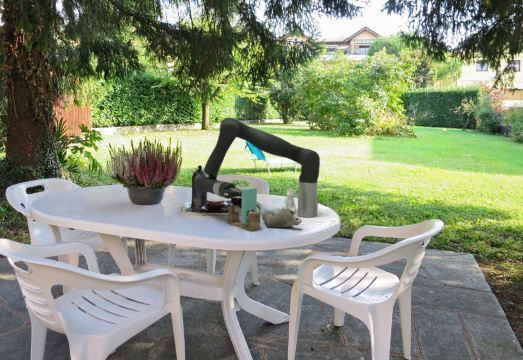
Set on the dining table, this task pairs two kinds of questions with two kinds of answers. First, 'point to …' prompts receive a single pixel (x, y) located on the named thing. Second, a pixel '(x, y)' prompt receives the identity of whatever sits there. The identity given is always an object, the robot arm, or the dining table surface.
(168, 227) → the dining table surface
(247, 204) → the teal flat board
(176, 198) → the dining table surface
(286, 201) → the seated beast figurine
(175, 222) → the dining table surface
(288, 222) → the pipe
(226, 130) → the robot arm
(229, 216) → the wooden dowel plank
